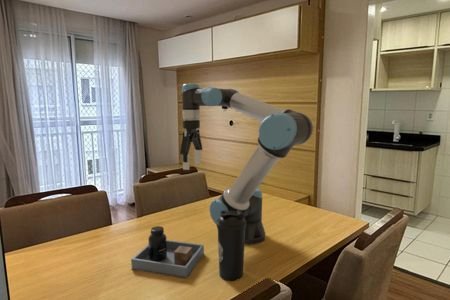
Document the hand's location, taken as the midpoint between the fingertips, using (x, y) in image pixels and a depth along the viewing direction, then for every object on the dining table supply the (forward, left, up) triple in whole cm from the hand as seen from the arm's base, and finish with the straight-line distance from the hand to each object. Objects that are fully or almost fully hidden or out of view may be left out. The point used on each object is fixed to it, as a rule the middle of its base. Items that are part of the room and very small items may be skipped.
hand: (192, 166), depth 136 cm
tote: (-1, +27, -32) cm, 42 cm away
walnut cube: (-7, +27, -31) cm, 42 cm away
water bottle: (-26, +29, -32) cm, 50 cm away
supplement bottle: (+4, +27, -31) cm, 41 cm away
